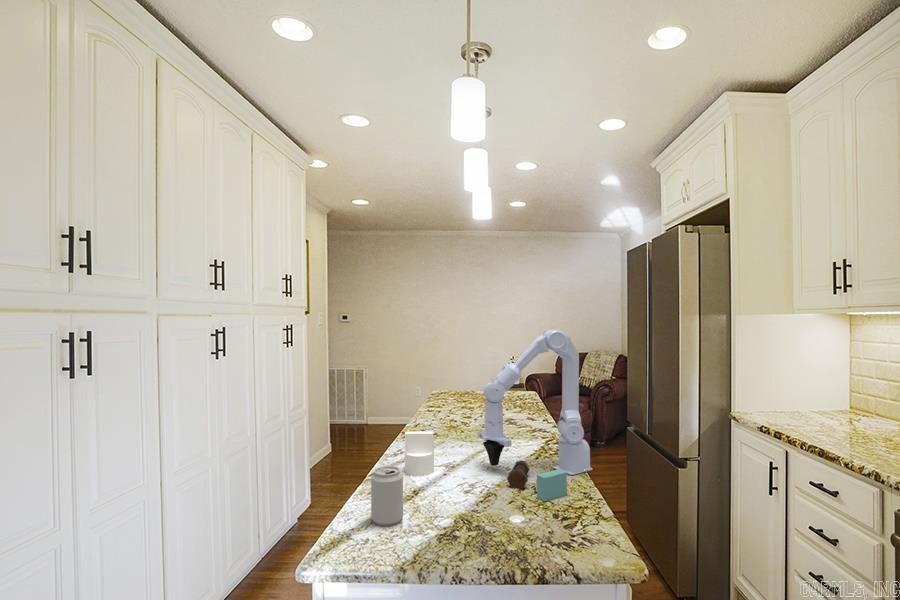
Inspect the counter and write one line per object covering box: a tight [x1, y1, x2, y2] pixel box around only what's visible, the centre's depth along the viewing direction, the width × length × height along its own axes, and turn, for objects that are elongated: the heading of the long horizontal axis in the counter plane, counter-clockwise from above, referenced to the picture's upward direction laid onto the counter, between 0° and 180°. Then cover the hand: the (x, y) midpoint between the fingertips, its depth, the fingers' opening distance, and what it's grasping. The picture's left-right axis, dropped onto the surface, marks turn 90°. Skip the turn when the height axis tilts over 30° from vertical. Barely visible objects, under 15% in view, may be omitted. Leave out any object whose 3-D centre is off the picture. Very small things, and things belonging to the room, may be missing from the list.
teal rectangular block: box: [535, 469, 568, 502], centre depth 126 cm, size 8×6×6 cm
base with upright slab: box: [404, 430, 435, 477], centre depth 145 cm, size 9×9×12 cm
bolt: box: [506, 460, 530, 490], centre depth 137 cm, size 6×5×15 cm
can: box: [370, 465, 404, 527], centre depth 111 cm, size 8×8×12 cm
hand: (494, 464), depth 145 cm, fingers closed
